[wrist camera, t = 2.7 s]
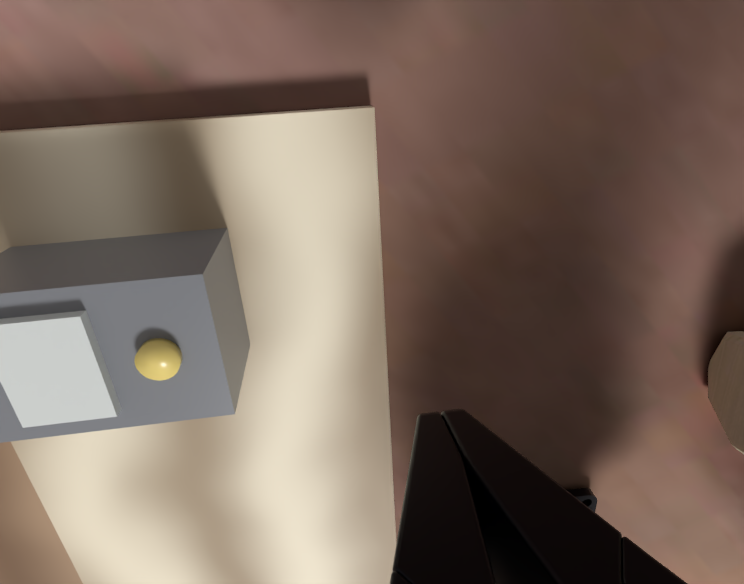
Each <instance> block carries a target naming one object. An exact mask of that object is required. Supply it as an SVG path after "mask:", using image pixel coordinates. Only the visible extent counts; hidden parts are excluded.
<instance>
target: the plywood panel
mask: <svg viewBox="0 0 744 584" xmlns="http://www.w3.org/2000/svg"><path fill="white" fill-rule="evenodd" d="M219 228H228V233H229V238H230V243H231V248H232V253H233V259H234V264H235V269H236V274H237V279H238V284H239V289H240V294H241V299H242V304H243V309H244V314H245V319H246V325H247V330H248V335H249V340H250V349H249V353H248V358H247V362H246V367H245V371H244V376H243V380H242V385H241V389H240V394H239V398H238V403H237V407H236V412H235V414H233V415H225V416H217V417H209V418H200V419H192V420H184V421H176V422H167V423H159V424H151V425H143V426H134V427H126V428H118V429H110V430H101V431H93V432H85V433H77V434H69V435H60V436H52V437H44V438H36V439H27V440H19V441H11V442H3V443H0V584H390V578H391V574H392V572H393V571H392V568H393V562H394V556H395V550H396V528H395V508H394V488H393V468H392V448H391V428H390V408H389V388H388V368H387V348H386V329H385V309H384V289H383V269H382V249H381V229H380V209H379V189H378V169H377V149H376V129H375V109H374V107H373V106H357V107H343V108H328V109H313V110H299V111H284V112H270V113H255V114H240V115H226V116H211V117H197V118H182V119H168V120H153V121H138V122H124V123H109V124H95V125H80V126H66V127H51V128H36V129H22V130H7V131H0V253H1V252H3V251H5V250H6V249H8V248H10V247H16V246H27V245H38V244H50V243H61V242H72V241H84V240H95V239H106V238H118V237H129V236H140V235H152V234H163V233H174V232H186V231H197V230H208V229H219Z"/></svg>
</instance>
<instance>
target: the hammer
mask: <svg viewBox="0 0 744 584" xmlns="http://www.w3.org/2000/svg"><path fill="white" fill-rule="evenodd" d="M708 398H709V400H710V402H711V404H712V406H713V408H714V410H715V412H716V414H717V416H718V418H719V420H720V422H721V424H722V426H723V428H724V430H725V432H726V434H727V436H728V438H729V440H730V442H731V444H732V445H733V446H734V447H735V448H736V449H737V450H739V451H740V452H741V453H743V454H744V331H735V332H727V333H726V335H725V336H724V338H723V339H722V341H721V343H720V344H719V346H718V348H717V349H716V351H715V353H714V355H713V356H712V358H711V360H710V363H709V367H708Z"/></svg>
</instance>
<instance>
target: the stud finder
mask: <svg viewBox="0 0 744 584" xmlns="http://www.w3.org/2000/svg"><path fill="white" fill-rule="evenodd" d="M249 349H250V340H249V335H248V330H247V325H246V319H245V314H244V309H243V304H242V299H241V294H240V289H239V284H238V279H237V274H236V269H235V264H234V259H233V253H232V248H231V243H230V238H229V233H228V228H219V229H208V230H197V231H186V232H174V233H163V234H152V235H140V236H129V237H118V238H106V239H95V240H84V241H72V242H61V243H50V244H38V245H27V246H16V247H10V248H8V249H6V250H5V251H3V252H1V253H0V443H3V442H11V441H19V440H27V439H36V438H44V437H52V436H60V435H69V434H77V433H85V432H93V431H101V430H110V429H118V428H126V427H134V426H143V425H151V424H159V423H167V422H176V421H184V420H192V419H200V418H209V417H217V416H225V415H233V414H235V412H236V407H237V403H238V398H239V394H240V389H241V385H242V380H243V376H244V371H245V367H246V362H247V358H248V353H249Z"/></svg>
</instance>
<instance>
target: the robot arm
mask: <svg viewBox="0 0 744 584" xmlns="http://www.w3.org/2000/svg"><path fill="white" fill-rule="evenodd" d="M596 504H597V498H596V497H595V495H594V494H593V492H592V491H591V490H590V489H588V488H581V489H574V490H565V489H564V488H563V487H562V486H560V485H559V484H558V483H557V482H555V481H554V480H553V479H551V478H550V477H549V476H548V475H546V474H545V473H544V472H543V471H541V470H540V469H539V468H537V467H536V466H535V465H534V464H532V463H531V462H530V461H529V460H527V459H526V458H525V457H523V456H522V455H521V454H520V453H518V452H517V451H516V450H515V449H513V448H512V447H511V446H509V445H508V444H507V443H506V442H504V441H503V440H502V439H500V438H499V437H498V436H497V435H495V434H494V433H493V432H492V431H490V430H489V429H488V428H486V427H485V426H484V425H483V424H481V423H480V422H479V421H478V420H476V419H475V418H474V417H472V416H471V415H470V414H469V413H467V412H466V411H465V410H463V409H454V410H446V411H443V412H441V414H440V413H438V412H430V413H422V414H419V415H418V417H417V422H416V428H415V434H414V440H413V446H412V452H411V458H410V464H409V470H408V476H407V483H406V489H405V495H404V501H403V507H402V513H401V519H400V525H399V531H398V537H397V543H396V550H395V556H394V562H393V568H392V571H393V572H392V574H391V578H390V584H687V583H686V582H684V581H683V580H682V579H680V578H679V577H678V576H676V575H675V574H674V573H673V572H671V571H670V570H669V569H667V568H666V567H665V566H663V565H662V564H661V563H659V562H658V561H657V560H655V559H654V558H653V557H651V556H650V555H649V554H647V553H646V552H645V551H643V550H642V549H641V548H640V547H638V546H637V545H636V544H635V543H633V542H632V541H631V540H629V539H628V538H627V537H622V535H621V533H620V532H619V531H618V530H616V529H615V528H614V527H613V526H611V525H610V524H609V523H608V522H606V521H605V520H604V519H602V518H601V517H600V516H599V515H597V514H596V513H595V509H596Z"/></svg>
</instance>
